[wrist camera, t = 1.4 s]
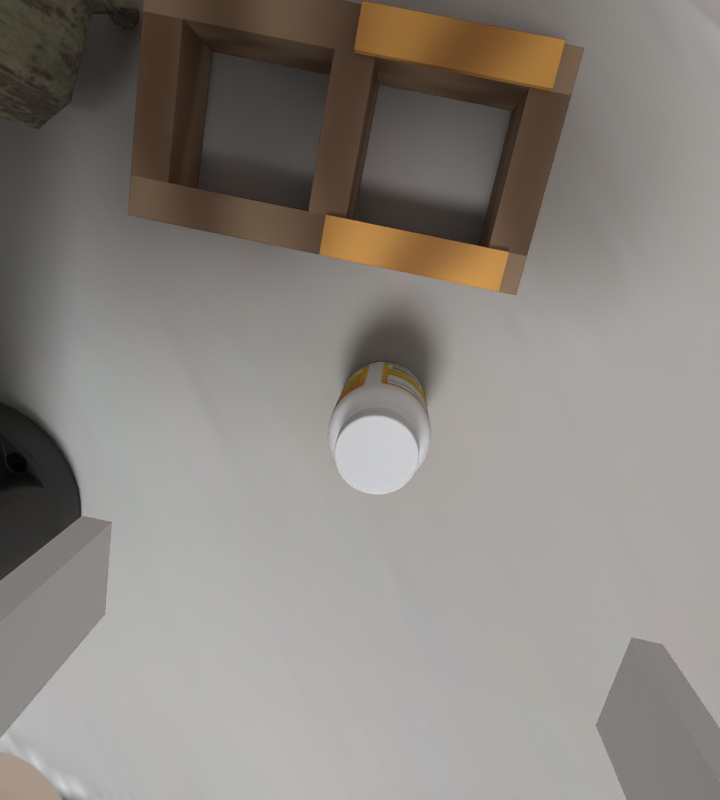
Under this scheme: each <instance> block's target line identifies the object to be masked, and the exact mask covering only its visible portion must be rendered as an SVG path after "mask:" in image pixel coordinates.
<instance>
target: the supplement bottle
mask: <svg viewBox="0 0 720 800" xmlns="http://www.w3.org/2000/svg"><path fill="white" fill-rule="evenodd" d="M328 441H329V446H330V449H331V452H332V454H333V456H334V458H335V463H336V466H337V469H338V471H339V473H340V474H341V476H342V477H343V478H344V480H345V481H346V482H347V483H348V484H350V485H351V486H352V487H354V488H356V489H357V490H360V491H362V492H365V493H370V494H386V493H390V492H393V491H395V490H397V489H399V488H401V487H402V486H404V485H405V484H406V483H407V482H408V481H409V480H410V479H411V478H412V476H413V475H414V473H415V471H416V470H417V469H418V468H419V467H420V466H421V464H422V463H423V461H424V460H425V458H426V456H427V454H428V451H429V448H430V443H431V426H430V421H429V416H428V410H427V405H426V399H425V394H424V391H423V388H422V386H421V384H420V382H419V381H418V379H417V378H416V377H415V376H414V375H413V374H412V373H411V372H410V371H409V370H408V369H406V368H404V367H402V366H400V365H398V364H395V363H390V362H376V363H371V364H368V365H366V366H364V367H362V368H360V369H359V370H357V371H356V372H355V373H354V374H353V375H352V376H351V377H350V378H349V380H348V381H347V383H346V384H345V386H344V388H343V391H342V393H341V395H340V398H339V400H338V402H337V404H336V406H335V408H334V410H333V413H332V415H331V418H330V422H329V427H328Z"/></svg>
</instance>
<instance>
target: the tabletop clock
mask: <svg viewBox="0 0 720 800" xmlns="http://www.w3.org/2000/svg"><path fill="white" fill-rule="evenodd" d="M91 14H108V15H109V17H110V19H111V21H112V22H113V23H115V24H116V25H117V26H118V27H119V28H122V29H132V28H134V26H135V25H136V24H137V23H138V21H139V10H138V8H137V5H136V3H135V1H134V0H107V2H105V1H102V0H0V117H2V118H5V119H8V120H11V121H14V122H17V123H20V124H23V125H26V126H29V127H32V128H36V129H39V128H40V127H41V126H42V125H43V124H45V123H46V122H47V121H48V120H49V119H51V118H52V117H53V116H54V115H56V114H57V113H58V112H59V111H60V110H62V109H63V108H64V107H65V106H66V105H68V104H69V103H70V102H71V98H72V93H73V89H74V85H75V81H76V77H77V73H78V68H79V64H80V60H81V56H82V52H83V48H84V43H85V39H86V35H87V31H88V27H89V23H90V19H91Z"/></svg>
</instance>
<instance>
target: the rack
mask: <svg viewBox="0 0 720 800" xmlns="http://www.w3.org/2000/svg"><path fill="white" fill-rule="evenodd" d="M583 50H584V48H582V47H577V46H572V45H567V44H565V40H562V39H557V38H552V37H547V36H541V35H536V34H531V33H526V32H521V31H516V30H510V29H505V28H500V27H495V26H490V25H485V24H480V23H474V22H469V21H464V20H459V19H454V18H449V17H444V16H438V15H433V14H428V13H423V12H418V11H413V10H408V9H402V8H397V7H392V6H387V5H382V4H377V3H371V2H366V1H362V5H361V4H356V3H351V2H346V1H341V0H143V14H142V28H141V42H140V56H139V70H138V84H137V98H136V112H135V126H134V140H133V154H132V168H131V181H130V195H129V209H128V215H131V216H136V217H140V218H145V219H150V220H155V221H160V222H165V223H169V224H174V225H179V226H184V227H189V228H194V229H199V230H203V231H208V232H213V233H218V234H223V235H228V236H232V237H237V238H242V239H247V240H252V241H257V242H261V243H266V244H271V245H276V246H281V247H286V248H291V249H295V250H300V251H305V252H310V253H315V254H319V255H324V256H329V257H333V258H338V259H343V260H348V261H353V262H358V263H362V264H367V265H372V266H377V267H382V268H387V269H391V270H396V271H401V272H406V273H411V274H416V275H421V276H425V277H430V278H435V279H440V280H445V281H450V282H454V283H459V284H464V285H469V286H474V287H479V288H483V289H488V290H493V291H498V292H504V293H508V294H513V295H516V294H517V290H518V286H519V283H520V279H521V275H522V272H523V268H524V265H525V261H526V257H527V254H528V250H529V246H530V243H531V239H532V235H533V232H534V228H535V225H536V221H537V217H538V214H539V210H540V206H541V203H542V199H543V196H544V192H545V188H546V185H547V181H548V177H549V174H550V170H551V167H552V163H553V159H554V156H555V152H556V148H557V145H558V141H559V138H560V134H561V130H562V127H563V123H564V119H565V116H566V112H567V109H568V105H569V101H570V98H571V94H572V90H573V87H574V83H575V80H576V76H577V72H578V69H579V65H580V61H581V58H582V54H583ZM212 51H214V52H219V53H224V54H229V55H234V56H239V57H244V58H249V59H254V60H259V61H264V62H269V63H275V64H280V65H285V66H290V67H295V68H300V69H305V70H310V71H315V72H320V73H325V74H330V79H329V85H328V92H327V98H326V104H325V110H324V117H323V123H322V129H321V135H320V141H319V148H318V154H317V160H316V166H315V172H314V179H313V185H312V191H311V197H310V203H309V210H308V211H303V210H299V209H294V208H289V207H284V206H279V205H274V204H269V203H264V202H259V201H255V200H250V199H245V198H240V197H235V196H230V195H225V194H220V193H215V192H211V191H206V190H201V189H198V180H199V170H200V161H201V151H202V142H203V132H204V123H205V113H206V104H207V94H208V85H209V75H210V65H211V56H212ZM379 84H381V85H386V86H391V87H396V88H401V89H406V90H411V91H416V92H421V93H426V94H431V95H436V96H441V97H446V98H451V99H456V100H461V101H466V102H471V103H477V104H482V105H487V106H492V107H497V108H502V109H507V110H512V114H511V118H510V122H509V126H508V130H507V134H506V138H505V142H504V146H503V150H502V154H501V158H500V162H499V166H498V170H497V174H496V178H495V182H494V186H493V190H492V194H491V198H490V202H489V206H488V210H487V214H486V218H485V222H484V226H483V230H482V234H481V238H480V242H479V246H477V245H472V244H467V243H462V242H457V241H452V240H447V239H442V238H438V237H433V236H428V235H423V234H418V233H413V232H408V231H403V230H398V229H394V228H389V227H384V226H379V225H374V224H369V223H364V222H359V221H354V216H355V211H356V205H357V200H358V194H359V189H360V184H361V178H362V173H363V167H364V162H365V156H366V151H367V146H368V140H369V135H370V129H371V124H372V118H373V113H374V108H375V102H376V97H377V91H378V86H379Z"/></svg>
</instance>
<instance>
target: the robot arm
mask: <svg viewBox="0 0 720 800" xmlns="http://www.w3.org/2000/svg"><path fill="white" fill-rule="evenodd" d="M79 517H80V508H79V498H78V493H77V488H76V485H75V482H74V479H73V476H72V473H71V471H70V469H69V467H68V465H67V463H66V461H65V459H64V458H63V456H62V455H61V453H60V451H59V450H58V449H57V447H56V446H55V445H54V443H53V442H52V441H51V440H50V439H49V437H48V436H47V435H46V434H45V433H44V432H43V431H42V430H41V429H40V428H39V427H38V426H36V425H35V424H34V423H33V422H32V421H30V420H29V419H28V418H26V417H25V416H24V415H22V414H20V413H19V412H17V411H16V410H14V409H12V408H10V407H8V406H6V405H4V404H2V403H0V738H1V737H2V735H3V734H4V733H5V732H6V731H7V729H8V728H9V727H10V726H11V725H12V724H13V722H14V721H15V720H16V719H17V718H18V716H19V715H20V714H21V713H22V712H23V711H24V709H25V708H26V707H27V706H28V705H29V703H30V702H31V701H32V700H33V699H34V697H35V696H36V695H37V694H38V693H39V692H40V690H41V689H42V688H43V687H44V686H45V684H46V683H47V682H48V681H49V680H50V679H51V677H52V676H53V675H54V674H55V673H56V671H57V670H58V669H59V668H60V667H61V665H62V664H63V663H64V662H65V661H66V660H67V658H68V657H69V656H70V655H71V654H72V652H73V651H74V650H75V649H76V648H77V647H78V645H79V644H80V643H81V642H82V641H83V639H84V638H85V637H86V636H87V635H88V634H89V632H90V631H91V630H92V629H93V628H94V626H95V625H96V624H97V623H98V622H99V620H100V619H101V618H102V617H103V616H104V615H105V606H106V592H107V579H108V565H109V552H110V539H111V525H112V522H108V521H104V520H99V519H95V518H90V517H86V516H81V517H80V518H79ZM596 727H597V729H598V731H599V734H600V736H601V739H602V741H603V743H604V746H605V748H606V751H607V753H608V755H609V758H610V760H611V763H612V765H613V768H614V770H615V772H616V775H617V777H618V780H619V782H620V784H621V787H622V789H623V792H624V794H625V796H626V799H627V800H720V728H719V727H718V725H717V724H716V722H715V721H714V719H713V718H712V716H711V715H710V713H709V712H708V710H707V709H706V707H705V706H704V704H703V703H702V701H701V700H700V699H699V697H698V696H697V694H696V693H695V691H694V690H693V688H692V687H691V685H690V684H689V682H688V681H687V679H686V678H685V676H684V675H683V673H682V672H681V671H680V669H679V668H678V666H677V665H676V663H675V662H674V660H673V659H672V657H671V656H670V654H669V653H668V651H667V650H666V648H665V647H664V645H663V644H658V643H654V642H649V641H645V640H640V639H636V638H631V640H630V643H629V645H628V648H627V650H626V653H625V655H624V658H623V660H622V662H621V665H620V667H619V670H618V672H617V675H616V677H615V680H614V682H613V685H612V687H611V689H610V692H609V694H608V697H607V699H606V702H605V704H604V707H603V709H602V712H601V714H600V716H599V719H598V721H597V724H596Z"/></svg>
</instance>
